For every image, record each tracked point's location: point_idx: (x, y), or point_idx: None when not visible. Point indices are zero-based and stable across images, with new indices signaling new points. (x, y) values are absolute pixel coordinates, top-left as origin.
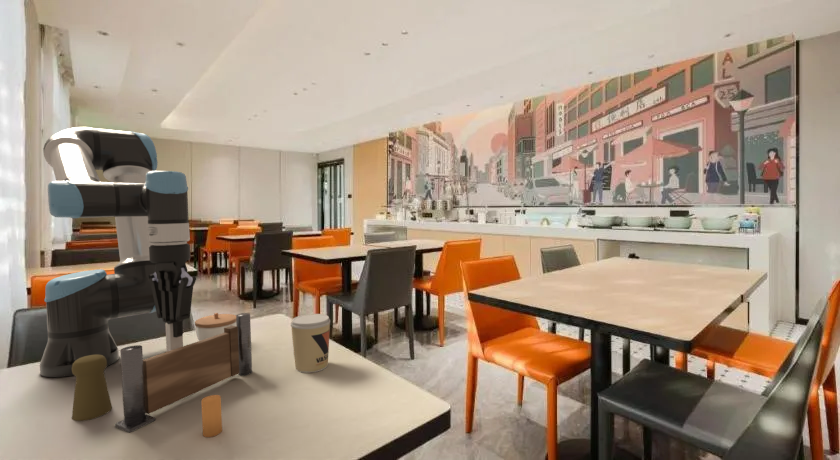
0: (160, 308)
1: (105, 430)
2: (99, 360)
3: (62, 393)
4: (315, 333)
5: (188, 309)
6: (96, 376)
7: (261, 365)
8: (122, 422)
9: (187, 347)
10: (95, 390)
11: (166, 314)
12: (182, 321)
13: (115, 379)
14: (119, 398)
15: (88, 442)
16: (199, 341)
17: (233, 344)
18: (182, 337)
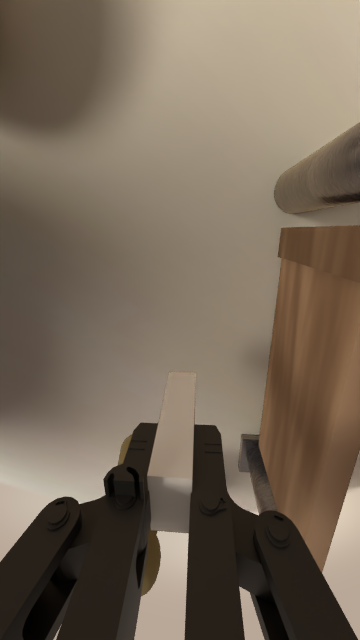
0: (50, 637)
1: (234, 474)
2: (151, 574)
3: (9, 433)
4: None
5: (341, 632)
6: (156, 532)
7: (306, 106)
8: (247, 465)
9: (348, 481)
10: None
11: (140, 589)
12: (231, 499)
13: (14, 364)
14: (130, 411)
15: (245, 496)
16: (342, 426)
17: None
18: (193, 403)
